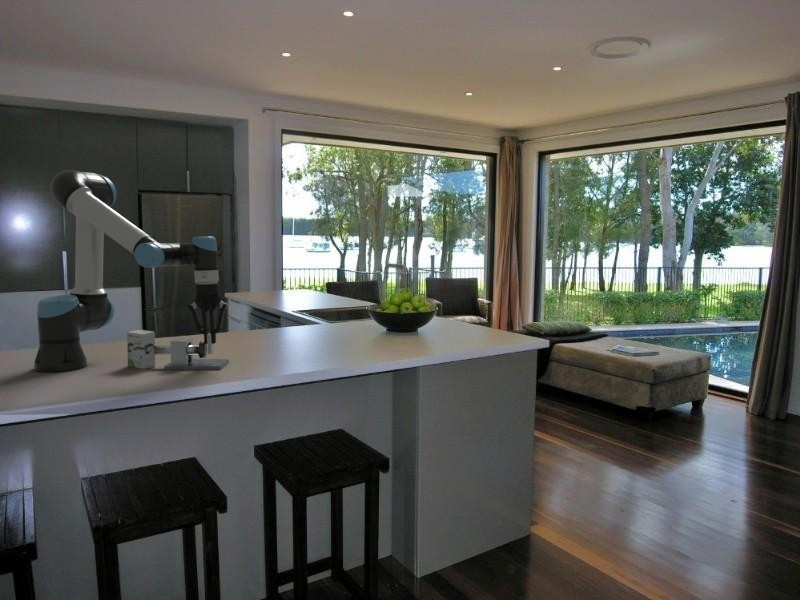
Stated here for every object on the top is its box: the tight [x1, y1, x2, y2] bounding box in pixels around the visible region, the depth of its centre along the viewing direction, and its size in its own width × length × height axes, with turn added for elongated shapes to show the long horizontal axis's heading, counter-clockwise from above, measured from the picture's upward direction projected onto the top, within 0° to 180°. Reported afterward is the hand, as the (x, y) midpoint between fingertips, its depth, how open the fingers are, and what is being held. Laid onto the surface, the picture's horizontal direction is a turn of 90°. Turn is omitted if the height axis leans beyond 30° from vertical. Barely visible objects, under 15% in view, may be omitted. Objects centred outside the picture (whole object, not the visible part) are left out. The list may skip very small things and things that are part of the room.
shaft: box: [154, 340, 208, 359], centre depth 201 cm, size 16×6×6 cm, turn 93°
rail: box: [163, 337, 230, 371], centre depth 201 cm, size 18×12×9 cm, turn 93°
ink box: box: [126, 329, 156, 370], centre depth 200 cm, size 9×5×12 cm, turn 60°
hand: (210, 353), depth 201 cm, fingers closed
